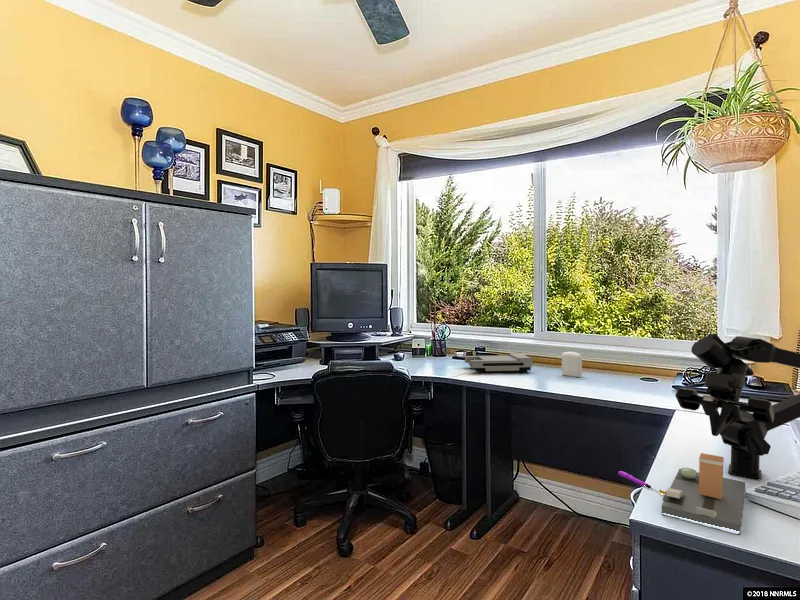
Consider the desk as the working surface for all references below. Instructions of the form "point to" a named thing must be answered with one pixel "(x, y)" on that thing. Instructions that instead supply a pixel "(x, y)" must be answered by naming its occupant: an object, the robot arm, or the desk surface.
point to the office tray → (500, 363)
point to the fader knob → (711, 475)
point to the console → (707, 502)
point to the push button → (688, 473)
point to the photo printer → (572, 364)
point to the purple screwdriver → (636, 480)
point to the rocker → (673, 493)
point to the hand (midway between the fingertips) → (714, 434)
